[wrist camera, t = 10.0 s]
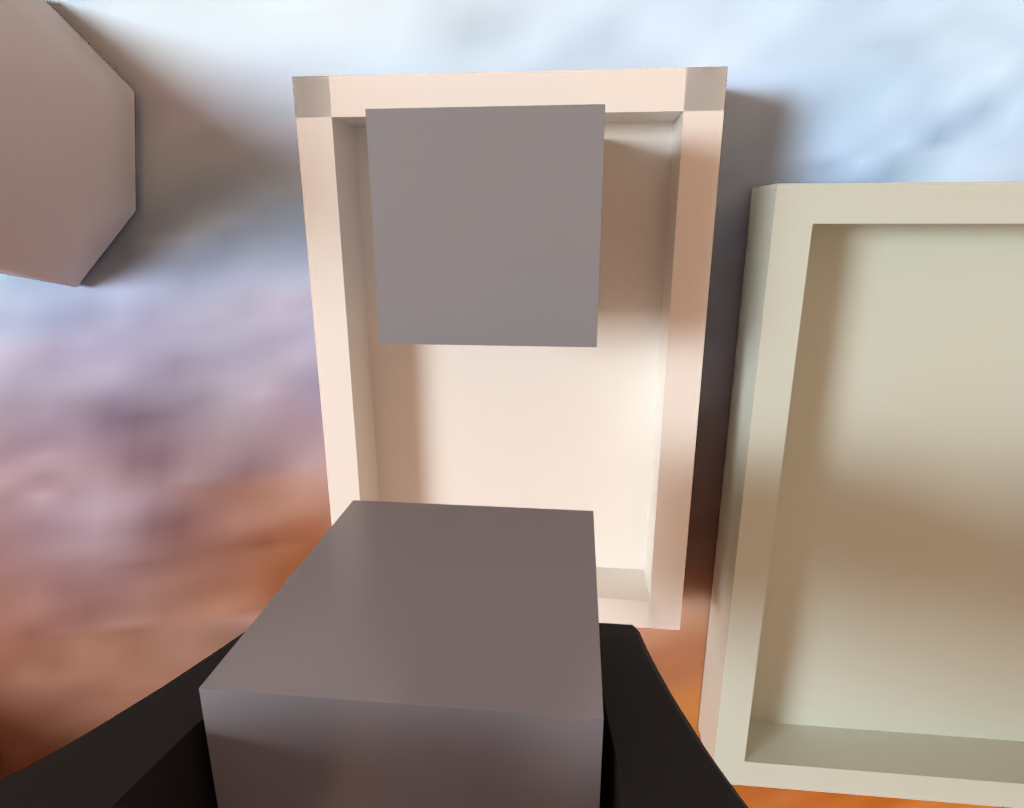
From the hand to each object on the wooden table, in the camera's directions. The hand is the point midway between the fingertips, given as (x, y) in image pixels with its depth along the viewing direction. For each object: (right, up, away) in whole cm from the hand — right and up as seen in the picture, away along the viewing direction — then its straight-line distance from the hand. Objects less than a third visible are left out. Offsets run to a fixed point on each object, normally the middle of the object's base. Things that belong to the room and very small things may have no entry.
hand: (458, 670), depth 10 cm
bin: (+13, +1, +7) cm, 15 cm away
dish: (+1, +5, +7) cm, 9 cm away
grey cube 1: (+1, +8, +6) cm, 10 cm away
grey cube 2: (0, 0, +1) cm, 1 cm away
